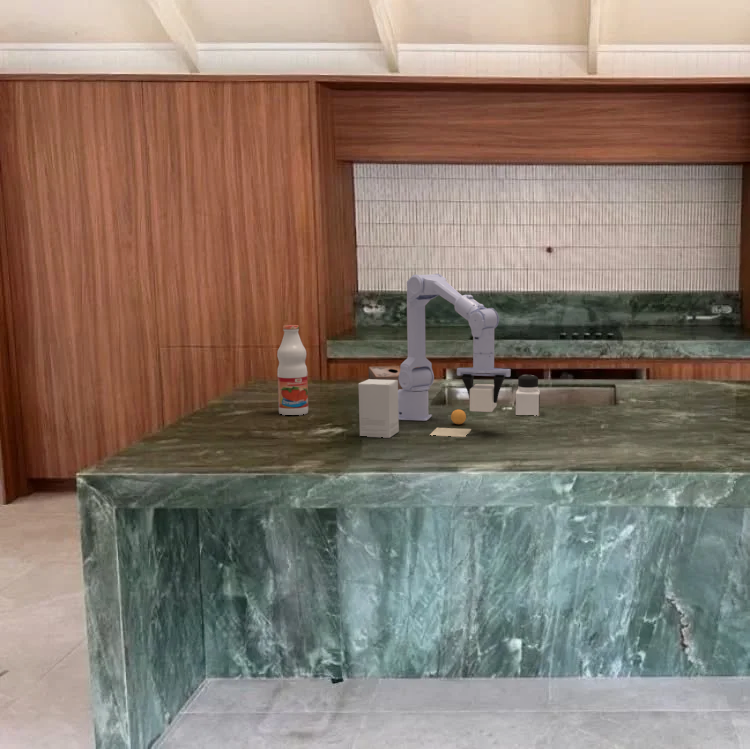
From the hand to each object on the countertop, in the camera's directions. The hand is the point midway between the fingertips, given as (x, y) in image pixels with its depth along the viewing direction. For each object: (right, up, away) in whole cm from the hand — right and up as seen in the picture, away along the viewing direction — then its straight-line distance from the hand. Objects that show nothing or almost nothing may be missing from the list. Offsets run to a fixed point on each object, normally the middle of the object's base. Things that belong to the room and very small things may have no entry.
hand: (483, 401), depth 235 cm
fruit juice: (-56, -5, +35) cm, 66 cm away
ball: (-6, -5, +14) cm, 16 cm away
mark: (-9, -9, +3) cm, 13 cm away
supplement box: (-29, -9, +2) cm, 30 cm away
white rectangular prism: (0, -2, 0) cm, 2 cm away
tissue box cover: (-24, -1, +60) cm, 64 cm away
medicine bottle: (+17, -5, +28) cm, 34 cm away
